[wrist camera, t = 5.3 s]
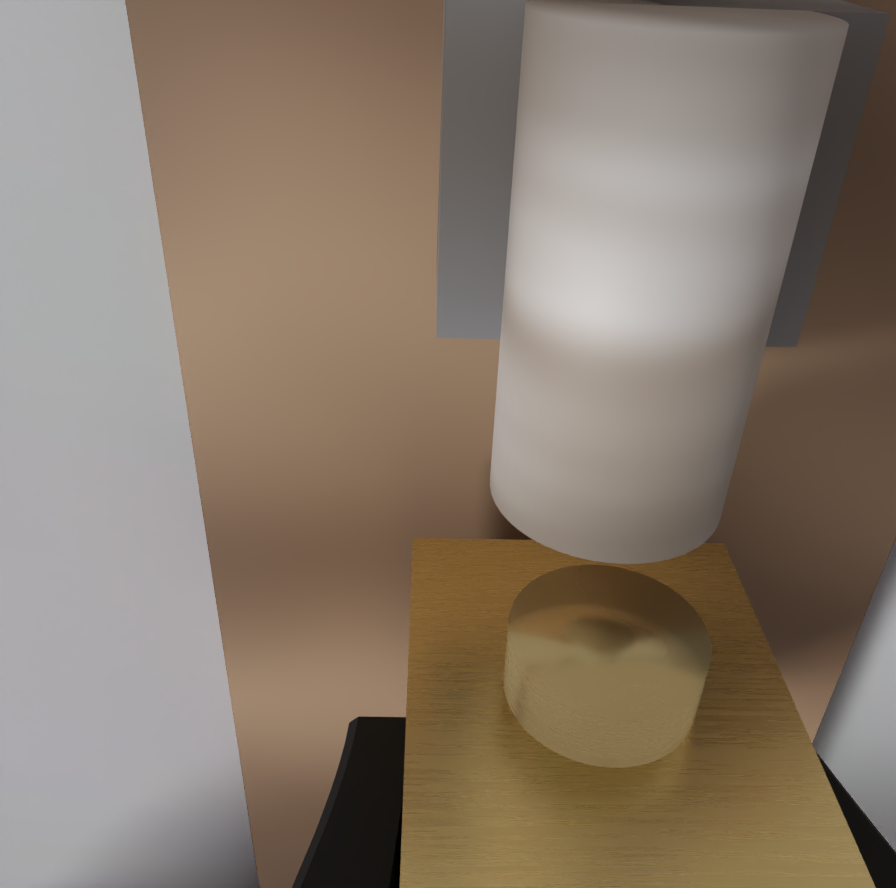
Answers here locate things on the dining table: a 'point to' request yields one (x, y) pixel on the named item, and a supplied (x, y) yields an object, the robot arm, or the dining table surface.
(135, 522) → the dining table surface
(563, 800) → the block
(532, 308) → the shaft stand
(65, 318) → the dining table surface
